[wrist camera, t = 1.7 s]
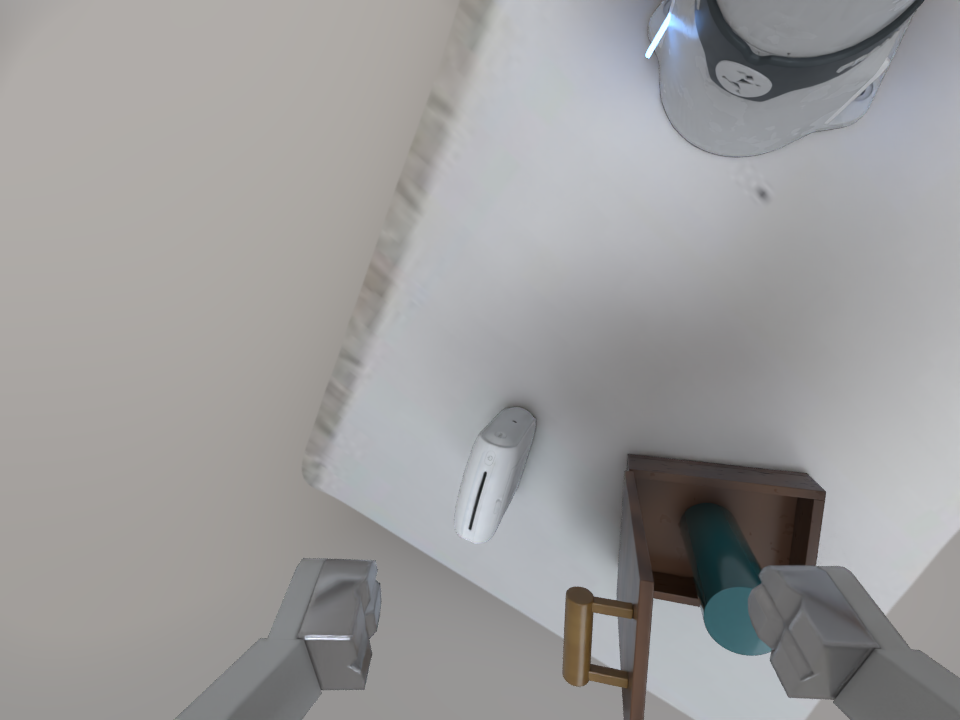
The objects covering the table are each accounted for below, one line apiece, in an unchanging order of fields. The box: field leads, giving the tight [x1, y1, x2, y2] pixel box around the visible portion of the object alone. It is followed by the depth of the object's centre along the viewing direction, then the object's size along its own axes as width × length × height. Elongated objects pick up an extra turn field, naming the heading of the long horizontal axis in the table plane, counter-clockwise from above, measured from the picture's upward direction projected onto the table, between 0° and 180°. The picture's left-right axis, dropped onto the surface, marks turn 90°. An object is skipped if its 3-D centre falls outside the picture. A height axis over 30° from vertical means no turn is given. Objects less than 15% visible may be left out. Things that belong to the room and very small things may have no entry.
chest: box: [627, 454, 826, 607], centre depth 43 cm, size 16×13×4 cm
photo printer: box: [454, 407, 536, 544], centre depth 43 cm, size 10×4×12 cm, turn 165°
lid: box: [562, 471, 654, 720], centre depth 35 cm, size 16×13×5 cm
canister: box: [680, 503, 771, 656], centre depth 38 cm, size 5×5×13 cm
